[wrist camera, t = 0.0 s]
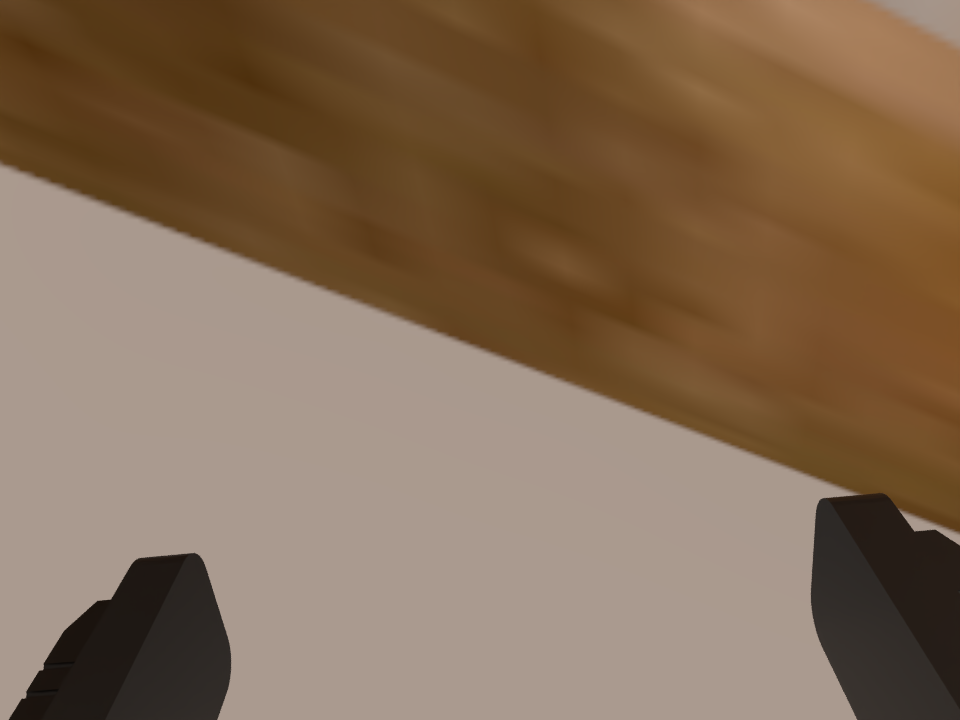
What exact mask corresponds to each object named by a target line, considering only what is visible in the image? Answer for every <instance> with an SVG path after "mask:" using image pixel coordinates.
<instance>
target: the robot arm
mask: <svg viewBox="0 0 960 720" xmlns="http://www.w3.org/2000/svg"><path fill="white" fill-rule="evenodd" d="M811 584H812V585H811V605H812V613H813V619H814V624H815V628H816V631H817V634H818V638H819V640H820V643H821V645H822V647H823V650H824V652H825V654H826V656H827V658H828V660H829V662H830V664H831V666H832V668H833V670H834V672H835V674H836V676H837V678H838V681H839V683H840V685H841V687H842V689H843V691H844V693H845V695H846V697H847V699H848V701H849V703H850V705H851V708H852V709H853V712H854V714H855V716H856V718H857V720H960V545H958V544H957V543H955V542H954V541H952V540H950V539H949V538H947V537H946V536H944V535H943V534H941V533H940V532H938V531H937V530H927V531H916V532H914V530H913V529H912V528H911V526H910V525H909V524H908V522H907V521H906V519H905V518H904V517H903V515H902V514H901V513H900V511H899V510H898V509H897V507H896V506H895V505H894V503H893V502H892V501H891V499H890V498H889V497H888V496H887V495H885V494H883V493H877V494H866V495H855V496H844V497H833V498H823V499H821V500H820V501H819V503H818V505H817V510H816V519H815V537H814V552H813V567H812V583H811ZM230 674H231V653H230V645H229V640H228V637H227V634H226V630H225V627H224V624H223V621H222V618H221V615H220V611H219V608H218V605H217V602H216V599H215V595H214V592H213V589H212V586H211V583H210V580H209V576H208V573H207V570H206V567H205V564H204V562H203V560H202V558H201V557H200V556H199V555H198V554H195V553H190V554H179V555H168V556H157V557H147V558H139V559H137V560H135V561H134V562H133V564H132V565H131V566H130V568H129V570H128V572H127V573H126V575H125V577H124V579H123V580H122V582H121V583H120V585H119V587H118V589H117V590H116V592H115V594H114V596H113V597H112V599H111V600H102V601H97V602H96V603H95V604H94V605H92V606H91V607H90V608H89V609H88V610H87V611H86V612H85V613H83V614H82V615H81V616H80V617H79V618H78V619H77V620H76V621H75V622H74V623H72V624H71V625H70V626H69V627H68V628H67V629H66V630H65V631H64V632H63V634H62V635H61V637H60V638H59V640H58V642H57V643H56V645H55V646H54V648H53V650H52V651H51V653H50V654H49V656H48V658H47V659H46V661H45V662H44V669H43V670H42V671H39V672H38V674H37V675H36V677H35V678H34V680H33V682H32V683H31V685H30V687H29V688H28V690H27V692H26V693H27V696H26V699H21V701H20V702H19V704H18V706H17V707H16V709H15V711H14V712H13V714H12V715H11V717H10V719H9V720H217V719H218V716H219V713H220V710H221V707H222V705H223V701H224V699H225V696H226V693H227V690H228V686H229V680H230Z"/></svg>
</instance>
